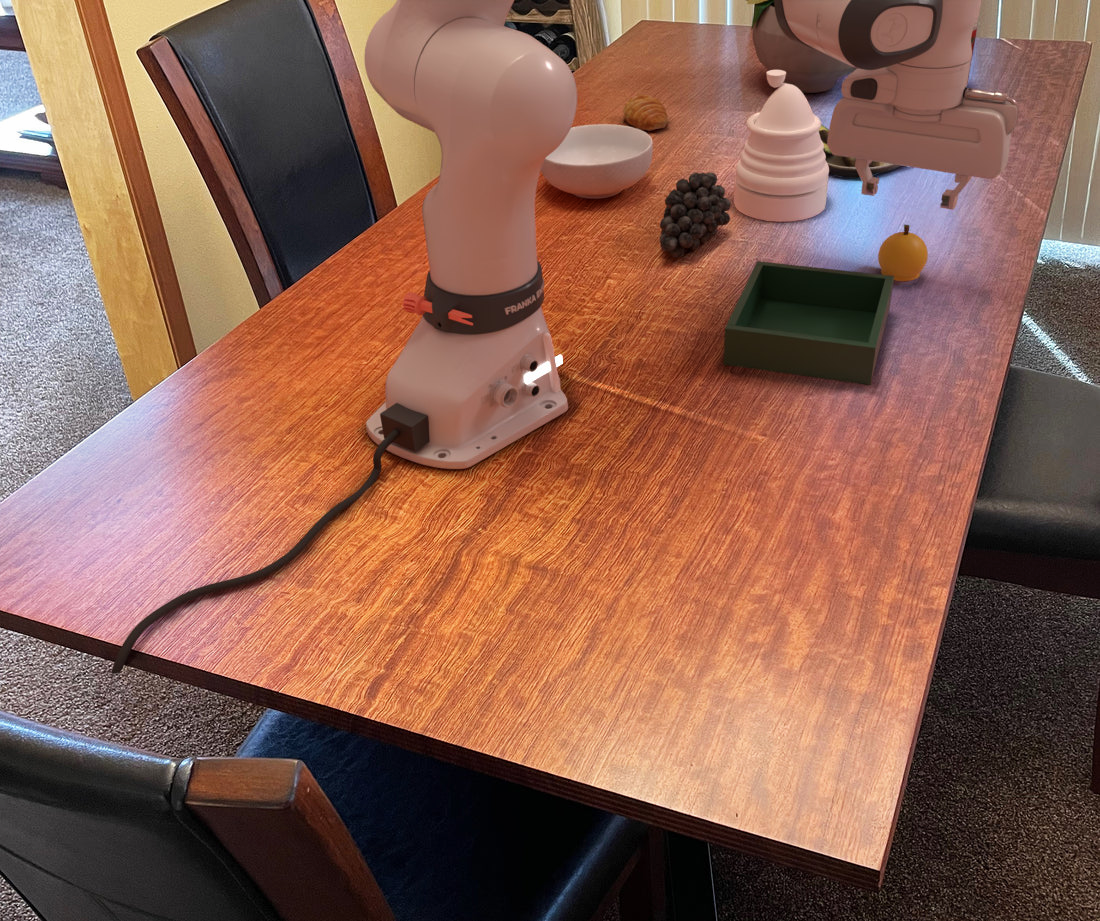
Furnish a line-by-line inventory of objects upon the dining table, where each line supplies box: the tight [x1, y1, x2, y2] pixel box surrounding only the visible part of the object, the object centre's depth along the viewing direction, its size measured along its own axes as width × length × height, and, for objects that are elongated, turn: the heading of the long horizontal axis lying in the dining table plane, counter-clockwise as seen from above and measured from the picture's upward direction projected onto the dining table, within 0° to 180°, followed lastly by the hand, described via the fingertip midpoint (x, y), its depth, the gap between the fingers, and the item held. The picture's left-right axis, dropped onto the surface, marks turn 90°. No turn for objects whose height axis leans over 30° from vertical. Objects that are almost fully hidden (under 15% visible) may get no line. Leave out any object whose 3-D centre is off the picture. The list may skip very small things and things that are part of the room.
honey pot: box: [733, 70, 830, 223], centre depth 153 cm, size 13×13×18 cm
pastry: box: [622, 94, 669, 132], centre depth 186 cm, size 9×7×4 cm
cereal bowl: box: [540, 123, 654, 200], centre depth 163 cm, size 17×17×7 cm
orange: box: [877, 224, 929, 282], centre depth 136 cm, size 6×6×7 cm
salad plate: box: [818, 124, 902, 179], centre depth 170 cm, size 19×18×5 cm
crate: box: [722, 260, 895, 386], centre depth 125 cm, size 17×16×5 cm
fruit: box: [659, 172, 732, 259], centre depth 146 cm, size 9×8×15 cm
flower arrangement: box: [745, 0, 857, 94], centre depth 191 cm, size 25×25×24 cm
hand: (908, 200), depth 132 cm, fingers open, 8 cm apart
